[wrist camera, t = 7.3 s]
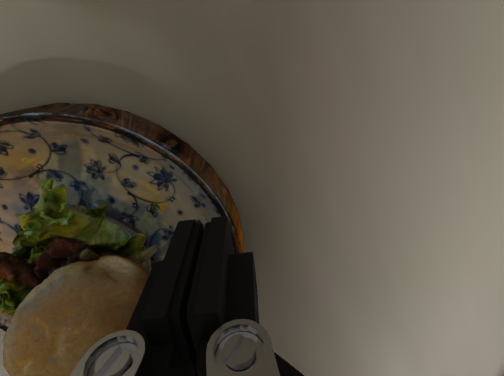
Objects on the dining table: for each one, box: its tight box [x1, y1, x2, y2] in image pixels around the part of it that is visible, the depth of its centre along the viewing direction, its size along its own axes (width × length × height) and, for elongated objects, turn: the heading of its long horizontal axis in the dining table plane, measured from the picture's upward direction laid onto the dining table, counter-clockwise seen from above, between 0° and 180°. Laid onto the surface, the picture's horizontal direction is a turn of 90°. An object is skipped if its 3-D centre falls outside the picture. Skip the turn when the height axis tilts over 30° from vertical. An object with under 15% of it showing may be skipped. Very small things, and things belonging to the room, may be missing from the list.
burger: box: [0, 103, 243, 376], centre depth 9 cm, size 12×12×8 cm
